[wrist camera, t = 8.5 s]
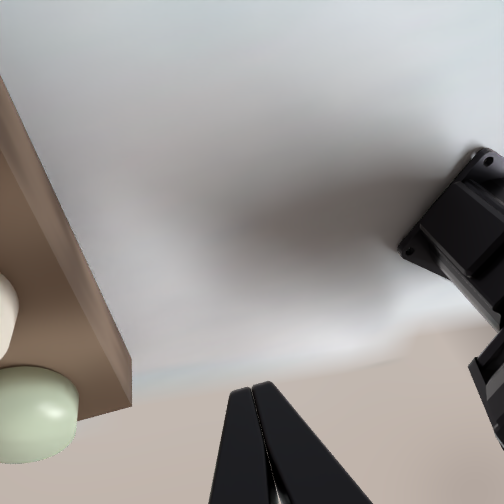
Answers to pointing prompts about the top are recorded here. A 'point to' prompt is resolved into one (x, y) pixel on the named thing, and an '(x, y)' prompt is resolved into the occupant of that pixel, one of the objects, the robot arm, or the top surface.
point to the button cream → (7, 313)
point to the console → (54, 283)
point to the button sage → (35, 414)
